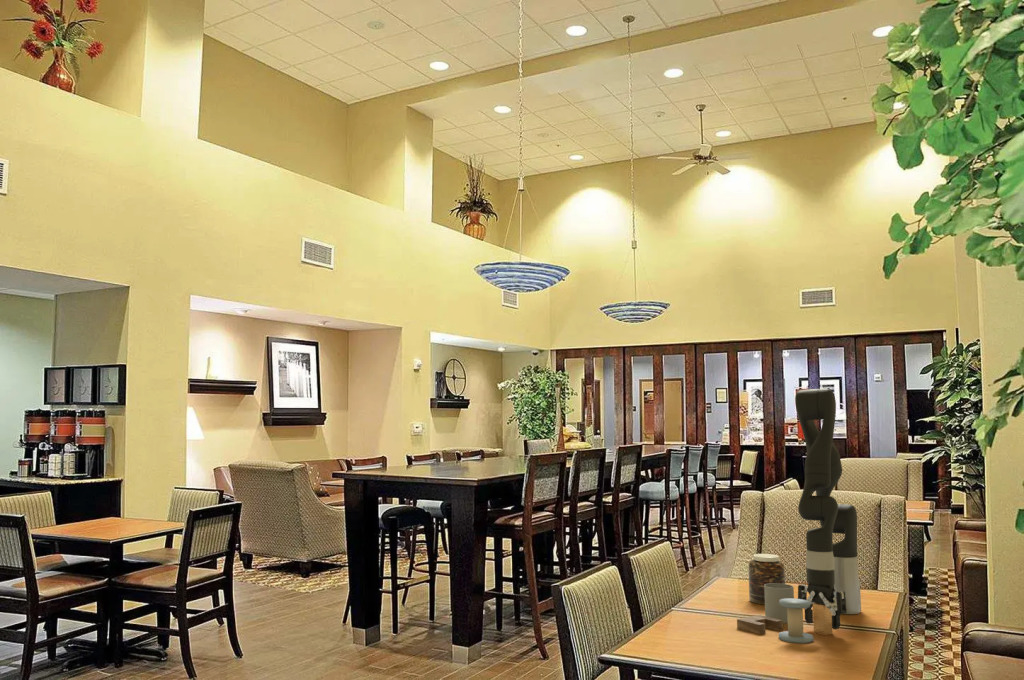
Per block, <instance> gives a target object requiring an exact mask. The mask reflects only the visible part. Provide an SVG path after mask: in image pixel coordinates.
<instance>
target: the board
mask: <svg viewBox="0 0 1024 680" xmlns="http://www.w3.org/2000/svg"><path fill="white" fill-rule="evenodd" d="M736 625H737V626H736V628H737V629H739V630H741V631H742V630H743V631H746V632H750V633H755V634H758V635H761V634H762V635H763V634H767V633H766V629H769V628H770V630H773V629H774V631H781V629H782V630H784V626H783V625H784V623H783V622H782V620H779V619H775V618H771V617H766V616H765V615H761V614H758V615H753V616H748V617H743V618H737V619H736Z"/></svg>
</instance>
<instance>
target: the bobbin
mask: <svg viewBox="0 0 1024 680" xmlns="http://www.w3.org/2000/svg"><path fill="white" fill-rule="evenodd" d="M779 604H780V605H781V606H784V607H787V617H788V623H787V630H786V631H785V630H784V631H781V632H778V639H779V640H780V641H783V642H787V643H792V644H811V643H813V642H814V635H813V634H811V633H807V632H804V614H803V613H804V611H803V609H804V608H808V607H810V602H809V601H807V600H803V599H798V598H795V597H794V598H786V599H780V600H779Z"/></svg>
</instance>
